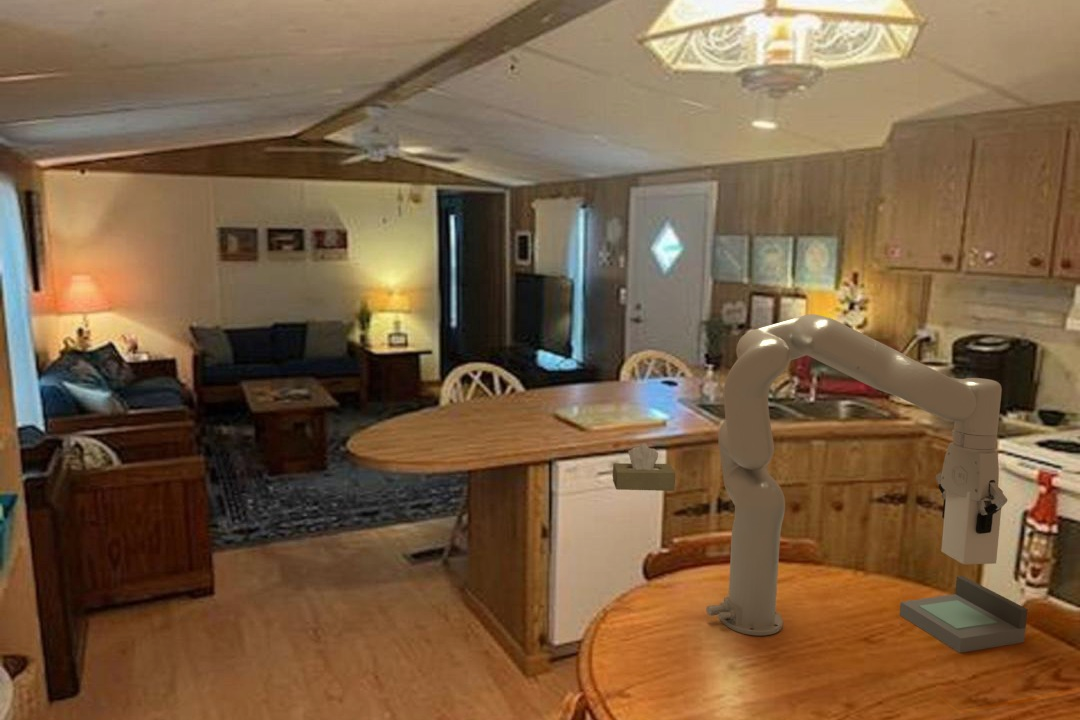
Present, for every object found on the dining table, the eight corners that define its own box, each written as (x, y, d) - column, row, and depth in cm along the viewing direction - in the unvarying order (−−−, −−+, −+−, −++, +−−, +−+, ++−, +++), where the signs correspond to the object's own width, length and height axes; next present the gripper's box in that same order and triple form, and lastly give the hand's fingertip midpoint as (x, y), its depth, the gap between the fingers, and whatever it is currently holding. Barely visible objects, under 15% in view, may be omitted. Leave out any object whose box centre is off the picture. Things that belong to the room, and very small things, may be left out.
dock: (959, 652, 149) (962, 619, 148) (899, 615, 164) (902, 584, 163) (1023, 642, 153) (1027, 609, 152) (959, 606, 168) (962, 576, 167)
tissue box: (669, 487, 250) (671, 440, 247) (675, 497, 240) (677, 448, 238) (611, 487, 249) (613, 439, 247) (615, 496, 240) (616, 447, 237)
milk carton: (972, 551, 160) (980, 462, 158) (996, 564, 153) (1005, 471, 151) (940, 552, 159) (948, 462, 157) (963, 565, 152) (971, 472, 150)
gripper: (925, 431, 160) (918, 512, 162) (996, 453, 143) (987, 543, 146) (954, 429, 162) (947, 509, 164) (1027, 450, 145) (1018, 539, 148)
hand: (966, 524), depth 155 cm, fingers closed on milk carton, 7 cm apart
